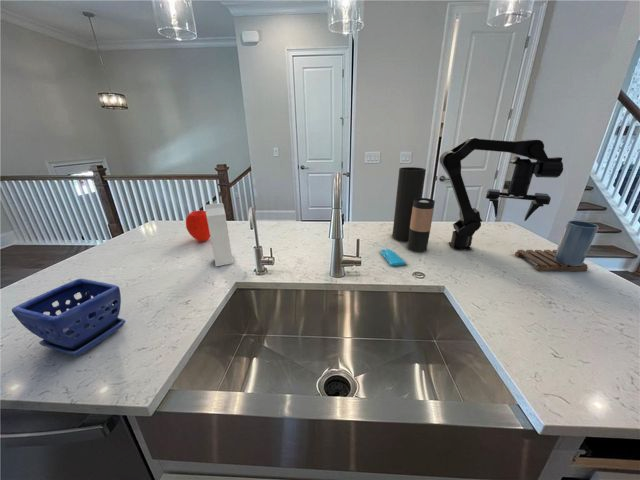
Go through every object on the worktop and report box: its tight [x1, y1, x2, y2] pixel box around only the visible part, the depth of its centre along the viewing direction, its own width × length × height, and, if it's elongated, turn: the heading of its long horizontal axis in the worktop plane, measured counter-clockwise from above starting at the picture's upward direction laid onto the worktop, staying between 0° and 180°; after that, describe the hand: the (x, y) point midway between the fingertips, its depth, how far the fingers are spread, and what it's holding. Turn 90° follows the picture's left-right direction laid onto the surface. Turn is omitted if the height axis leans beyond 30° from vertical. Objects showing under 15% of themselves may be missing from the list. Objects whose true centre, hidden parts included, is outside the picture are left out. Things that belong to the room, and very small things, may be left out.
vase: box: [391, 166, 427, 243], centre depth 110 cm, size 10×10×30 cm
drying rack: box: [514, 249, 589, 272], centre depth 92 cm, size 16×12×2 cm
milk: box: [204, 202, 234, 267], centre depth 92 cm, size 6×6×22 cm
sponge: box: [380, 248, 406, 267], centre depth 97 cm, size 2×12×6 cm
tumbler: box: [554, 220, 600, 266], centre depth 86 cm, size 7×7×14 cm
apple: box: [185, 210, 211, 242], centre depth 114 cm, size 12×12×13 cm
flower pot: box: [11, 278, 126, 357], centre depth 59 cm, size 13×13×12 cm
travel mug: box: [407, 197, 436, 253], centre depth 101 cm, size 8×8×20 cm
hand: (510, 218), depth 98 cm, fingers open, 9 cm apart
